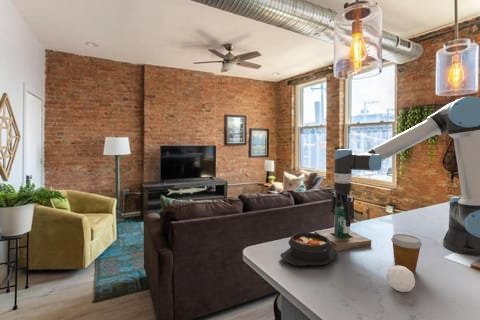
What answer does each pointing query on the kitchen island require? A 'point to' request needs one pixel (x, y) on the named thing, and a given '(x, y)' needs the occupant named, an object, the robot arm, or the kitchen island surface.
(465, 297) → the kitchen island surface
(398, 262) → the disposable coffee cup
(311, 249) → the casserole
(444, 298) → the kitchen island surface
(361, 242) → the frame
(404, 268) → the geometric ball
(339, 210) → the can
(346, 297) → the kitchen island surface
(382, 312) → the kitchen island surface
